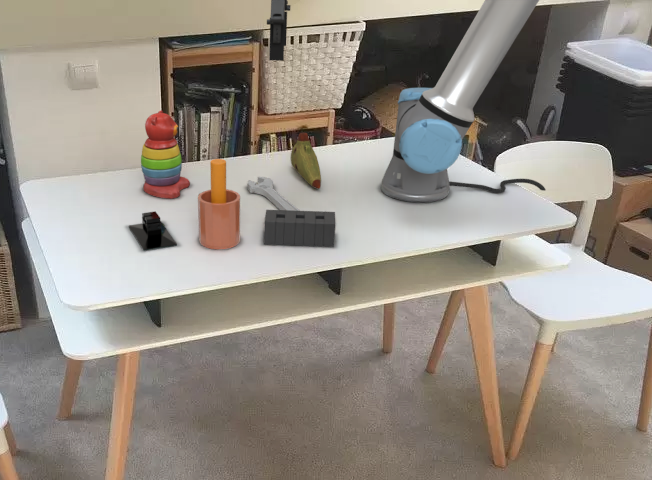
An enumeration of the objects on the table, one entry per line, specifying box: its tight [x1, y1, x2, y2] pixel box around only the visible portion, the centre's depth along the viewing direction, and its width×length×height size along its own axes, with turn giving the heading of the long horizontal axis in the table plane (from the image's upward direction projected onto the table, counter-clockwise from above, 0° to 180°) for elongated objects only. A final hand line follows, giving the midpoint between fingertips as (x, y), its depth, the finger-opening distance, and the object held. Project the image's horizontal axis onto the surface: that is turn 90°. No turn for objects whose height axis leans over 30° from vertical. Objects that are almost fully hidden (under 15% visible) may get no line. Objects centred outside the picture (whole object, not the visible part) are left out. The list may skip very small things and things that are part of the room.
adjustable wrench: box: [246, 176, 301, 211], centre depth 171 cm, size 25×6×2 cm, turn 16°
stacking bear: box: [140, 109, 191, 200], centre depth 174 cm, size 11×10×18 cm
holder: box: [263, 209, 337, 248], centre depth 153 cm, size 14×6×5 cm, turn 84°
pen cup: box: [197, 188, 241, 250], centre depth 152 cm, size 8×8×10 cm
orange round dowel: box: [209, 158, 227, 204], centre depth 150 cm, size 3×3×16 cm
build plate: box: [128, 211, 178, 252], centre depth 156 cm, size 12×7×5 cm, turn 19°
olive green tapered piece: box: [290, 131, 322, 190], centre depth 181 cm, size 20×5×10 cm, turn 11°
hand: (278, 52), depth 152 cm, fingers open, 13 cm apart
